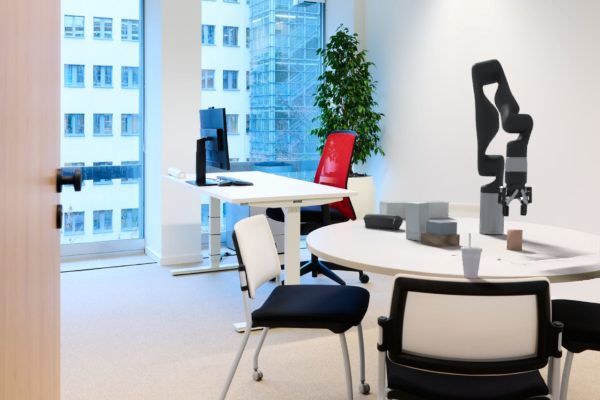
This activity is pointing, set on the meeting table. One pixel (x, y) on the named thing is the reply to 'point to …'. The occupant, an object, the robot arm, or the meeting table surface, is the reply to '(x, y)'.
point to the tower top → (441, 227)
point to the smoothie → (471, 260)
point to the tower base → (440, 240)
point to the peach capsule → (514, 239)
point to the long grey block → (398, 207)
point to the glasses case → (383, 221)
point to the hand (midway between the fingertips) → (514, 215)
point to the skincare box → (416, 219)
